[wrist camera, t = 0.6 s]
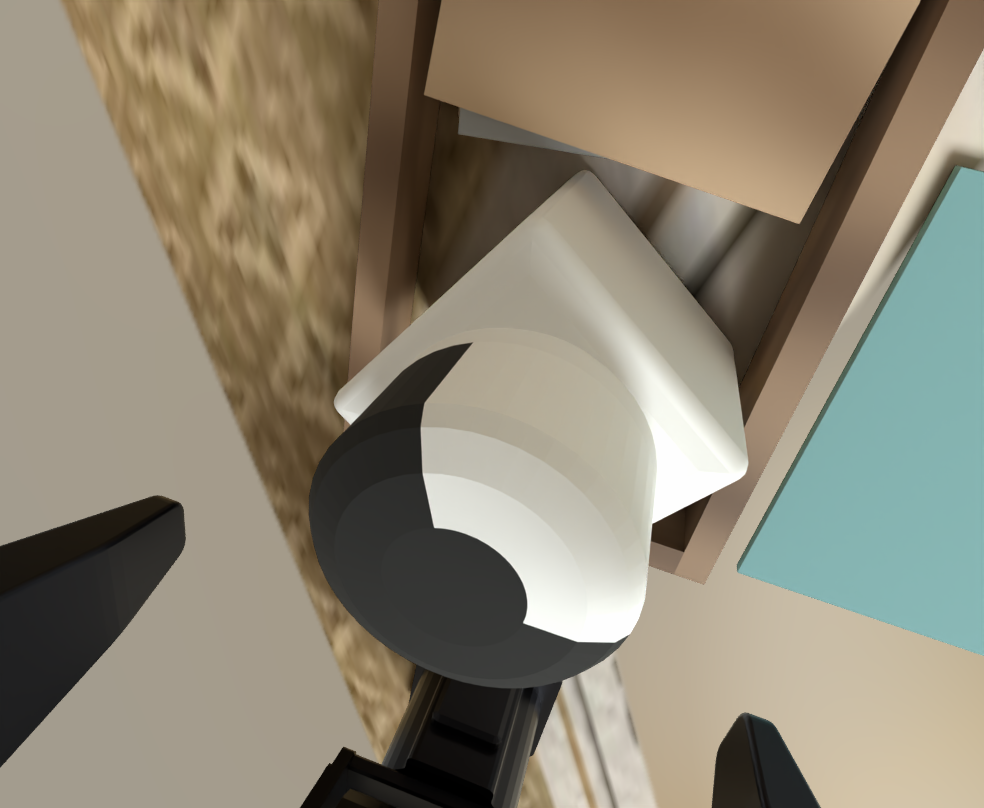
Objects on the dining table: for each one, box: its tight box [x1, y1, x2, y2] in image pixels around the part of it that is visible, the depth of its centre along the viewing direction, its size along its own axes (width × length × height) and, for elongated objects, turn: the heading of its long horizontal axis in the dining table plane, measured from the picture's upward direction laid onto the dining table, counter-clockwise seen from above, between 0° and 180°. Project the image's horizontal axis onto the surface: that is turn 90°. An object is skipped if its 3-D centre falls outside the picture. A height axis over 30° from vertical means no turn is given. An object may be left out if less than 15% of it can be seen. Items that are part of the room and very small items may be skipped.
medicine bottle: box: [309, 170, 748, 688], centre depth 15 cm, size 7×7×12 cm
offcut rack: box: [344, 0, 984, 585], centre depth 17 cm, size 20×13×2 cm, turn 169°
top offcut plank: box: [424, 0, 921, 224], centre depth 13 cm, size 5×9×2 cm, turn 74°
